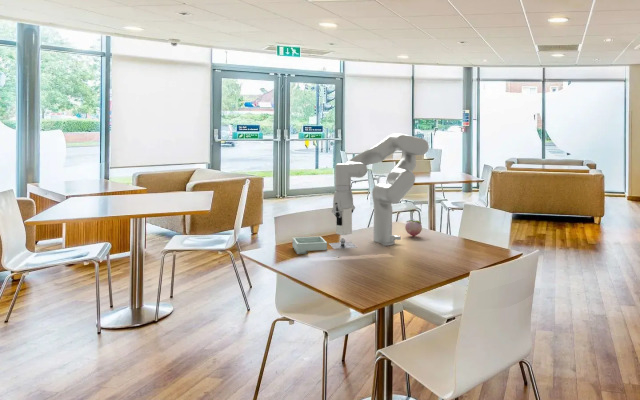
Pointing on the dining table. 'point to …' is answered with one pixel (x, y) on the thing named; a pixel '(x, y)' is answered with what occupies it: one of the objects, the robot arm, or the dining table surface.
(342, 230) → the light grey block
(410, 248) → the dining table surface
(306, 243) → the bin
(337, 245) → the stud base
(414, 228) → the decorative fruit
